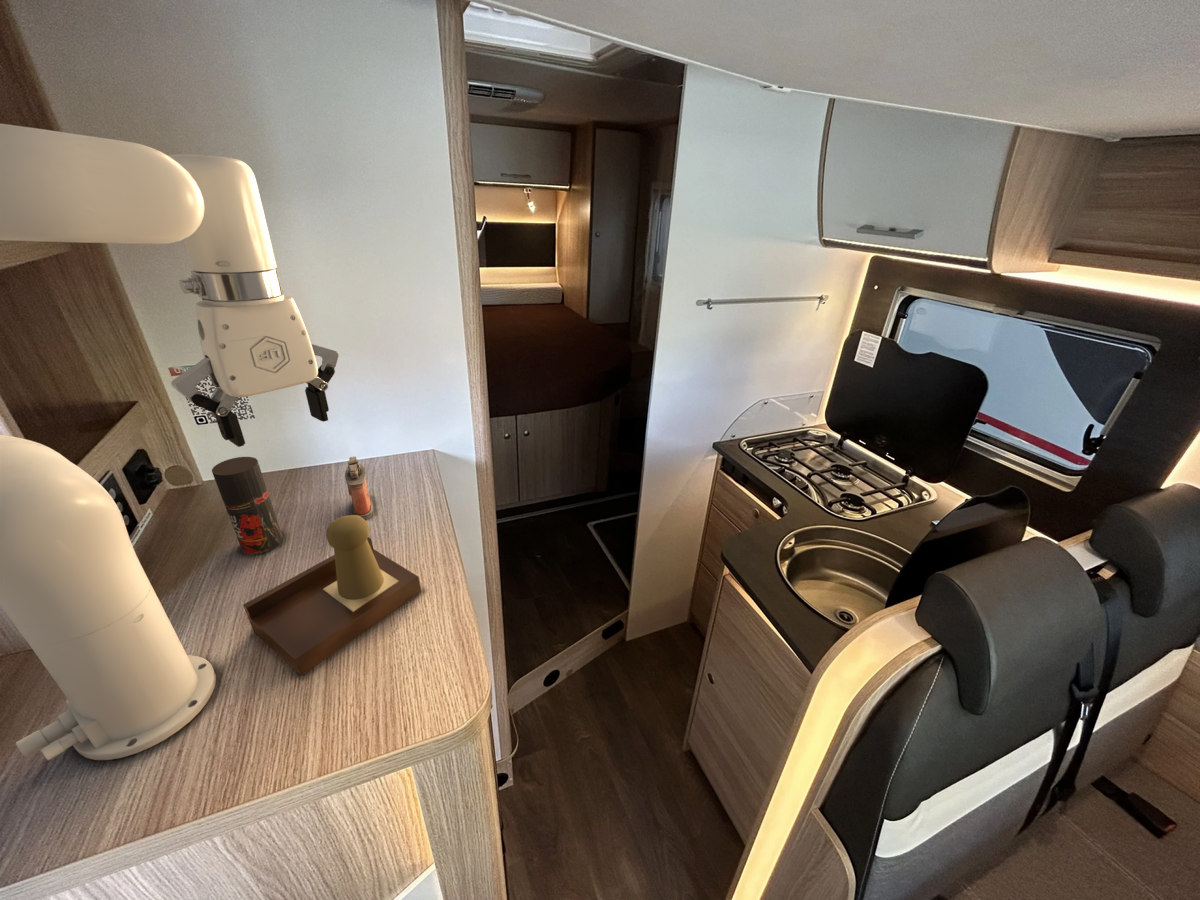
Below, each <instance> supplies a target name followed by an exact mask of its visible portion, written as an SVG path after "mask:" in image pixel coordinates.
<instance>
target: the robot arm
mask: <svg viewBox="0 0 1200 900" xmlns="http://www.w3.org/2000/svg"><path fill="white" fill-rule="evenodd" d="M0 241H13V242H46V243H81V244H83V243H84V244H86V243H88V244H89V243H90V244H91V243H92V244H131V245H132V244H133V245H134V244H135V245H136V244H137V245H139V244H140V245H167V244H173V243H177V242H181V241H183V244H184V246H185V247H184V248H185V250H186V253H187V257H188V260H189V263H190V266H191V269H192V270H190V274H191V275H190V277H188V278H187V279H180V280H179V286H180V289H181V291H182V293H183V294H184V295H186V294H193V295H197V296H198V297H199V298H201V300H200V301H197V302H196V303H195V308H196V309H195V310H196V313H195V314H196V323H197V329H198V330H197V331H198V336H199V337H198V338H199V343H200V347H201V351H202V356H203V358H202V359H201V360H200V361H198V362H197V363H195V364H194V365H192V366H191V367H190V368H188V369H187V370H185V371H184V372H182V373H181V374H180V375H178V376H177V377H175V378H173V380H172V381H171V383H170V384H171V386H172V387H173V388H174V389H175V390H176V391H177V392H179V393H180V395H182V396H183V397H184V398H186V399H187V400H188V401H189V402H191V403H192V404H194V405H195V406H197V407H200V408H202V409H203V410H206V411H209V412H211V413H213V414H214V418H215V421H216V424H217V426H218V429H219V432H220V436H221V437H222V439H224V440H225V441H229V442H231V444H234V445H235V446H236V447H238V448H240V447H243V446H245V445H246V441H245V436H244V435H243V431H242V427H241V425H240V421H239V419H238V415H237V414H236V413H235V412H233V411H232V409H233V406H234V405H235V403H236V402H237V399H238V398H247V397H253V396H257V395H261V394H266V393H270V392H274V391H278V390H283V389H287V388H290V387H294V386H298V385H303V384H307V386H305V389H304V392H305V396H306V400H307V404H308V408H309V412H310V416H311V417H312V418H314V419H315V420H318V421H320V422H323V423H325V422H328V421H329V416H328V413H327V412H329V410H330V409H329V404H328V399H327V394H326V391H327V390H328V388H329V382H330V381H331V380H332V378H333V377H334V375H335V373H336V366H337V362H338V359H339V355H340V354H339V352H338V351H336V350H334V349H332V348H331V349H330V348H328V347H325V346H320V345H317V344H314V343H312V342H311V339H310V335H309V333H308V330H307V328H306V325H305V323H304V320H303V317H302V315H301V313H300V309H299V308H298V306H297V304H296V301H295V300H294V298H293V297H292V296H291V295H285V294H284V291H283V286H282V281H281V278H280V273H279V269H278V266H277V262H276V257H275V254H274V253H275V252H274V249H273V244H272V241H271V237H270V231H269V229H268V223H267V220H266V215H265V211H264V207H263V203H262V199H261V195H260V191H259V186H258V182H257V179H256V176H255V173H254V171H253V170H252V168H251V167H250V165H248V164H247V163H246V162H245V161H244V160H240V159H238V158H234V157H230V156H220V155H210V154H209V155H208V154H207V155H205V154H193V153H192V154H190V153H186V154H185V153H179V154H176V153H175V154H170V155H167V154H166V153H164V152H163V151H160V150H158V149H156V148H153V147H151V146H148V145H145V144H142V143H139V142H138V143H137V142H134V141H133V142H132V141H127V140H120V139H115V138H114V139H113V138H106V137H99V136H94V135H93V136H92V135H85V134H78V133H71V132H65V131H64V132H63V131H57V130H50V129H45V128H37V127H30V126H21V125H16V124H15V125H14V124H7V123H0ZM316 357H320V358H321V364H320V366H319V367H318V362H317V358H316ZM207 377H209V380H210V382H211V384H212V385H213V386H214V388H215V389H214V391H213V392H212V394H211V395H210V397H209V396H207V395H204V394H202V393H201V392H200V391H199V390H198V389H197V385H198V384H199V383H200V382H202V381H203V380H204V379H206V378H207ZM0 606H1V608H2V609H3V611H4V613H6V615H7V617H8V618H9V620H10V621H11V622H12V624H13V625H14V626H15V628H16V629H17V631H18V632H19V634H20V635H21V637H23V639H24V640H25V641H26V643H27V644H28V645H29V647H30V648H31V649H32V651H33V652H34V654H35V655H36V657H37V658H38V659H39V661H40V662H41V663H42V665H43V666H44V668H45V669H46V670H47V672H48V673H49V675H50V676H51V678H52V679H53V680H54V682H55V683H56V684H57V686H58V687H59V689H60V690H61V691H62V693H63V694H64V696H65V698H66V700H65V704H66V705H67V707H68V709H67V710H65V711H64V712H61V713H60V714H58V715H57V720H55V721H53V722H51V723H49V724H48V725H45V726H44V727H42V728H41V729H40V728H39V729H37V730H35V731H34V732H31V733H30V734H28V735H27V736H24V737H23V738H21V739H19V740H17V741H15V746H16V747H17V749H18V751H19V752H20V754H21V756H23V757H24V758H25V759H28V758H29V757H31V756H33V755H35V754H36V753H38V752H39V751H41V753H42V755H43V757H44V758H45V759H46V760H47V761H50V760H52V759H53V758H56V757H57V756H59V755H60V754H62V753H63V752H65V751H66V750H68V749H69V748H70V747H73V748H74V749H75V750H76V752H77V753H78V754H79V755H81V756H83V757H84V758H86V759H89V760H94V761H111V760H117V759H123V758H126V757H129V756H132V755H135V754H139V753H141V752H143V751H145V750H148V749H150V748H152V747H154V746H157V745H158V744H159V743H161V742H164V741H166V740H167V739H168V738H170V737H171V736H173V735H174V734H176V733H177V732H179V731H180V730H181V729H183V728H184V727H185V726H187V724H189V723H190V722H191V721H192V720H193V719H194V718H195V717H196V716H197V715H199V713H200V712H201V711H202V710H203V708H205V706H206V704H207V703H208V702H209V701H210V698H211V697H212V695H213V693H214V690H215V688H216V684H217V676H216V671H215V669H214V668H213V666H212V665H213V664H212V663H210V662H209V661H208V660H207V658H204V657H201V656H200V655H199V656H198V655H194V654H187V652H186V650H185V648H184V646H183V644H182V643H181V640H180V639H179V636H178V634H177V632H176V631H175V629H174V627H173V625H172V623H171V621H170V618H169V617H168V615H167V613H166V611H165V609H164V607H163V605H162V602H161V601H160V599H159V597H158V596H157V594H156V591H155V590H154V587H153V585H152V583H151V582H150V579H149V578H148V576H147V574H146V571H145V570H144V567H143V566H142V564H141V562H140V560H139V557H138V555H137V554H136V551H135V548H134V547H133V543H132V541H131V539H130V535H129V532H128V530H127V526H126V523H125V521H124V516H123V515H122V513H121V511H120V509H119V506H118V505H117V503H116V502H115V500H114V498H113V497H112V495H111V494H110V493H109V492H108V491H107V490H106V489H105V488H104V486H103V485H101V483H99V482H98V481H97V480H96V479H95V478H94V477H92V475H90V474H89V473H88V472H86V471H85V470H83V469H82V468H81V467H79V466H78V465H76V464H75V463H73V462H72V461H70V460H69V459H68V458H67V457H65V456H64V455H62V454H61V453H60V452H58V451H56V450H55V449H53V448H51V447H49V446H47V445H45V444H42V443H40V442H37V441H33V440H30V439H27V438H26V439H25V438H22V437H17V436H12V435H6V434H1V433H0Z"/></svg>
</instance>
